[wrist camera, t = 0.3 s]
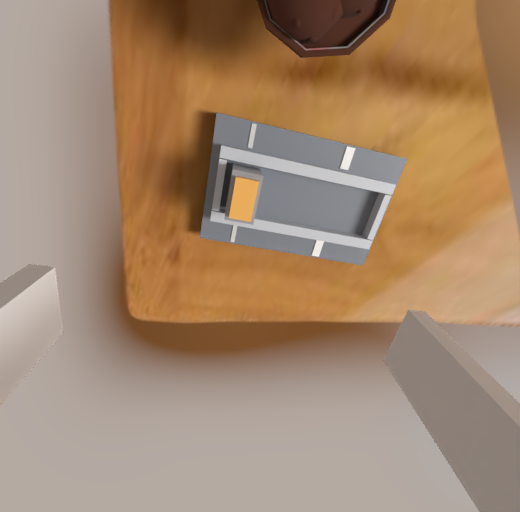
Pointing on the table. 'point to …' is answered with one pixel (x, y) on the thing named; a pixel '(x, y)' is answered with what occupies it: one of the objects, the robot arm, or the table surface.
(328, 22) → the ice cream bowl
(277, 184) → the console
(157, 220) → the table surface
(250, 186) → the fader tab
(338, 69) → the table surface
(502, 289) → the table surface
